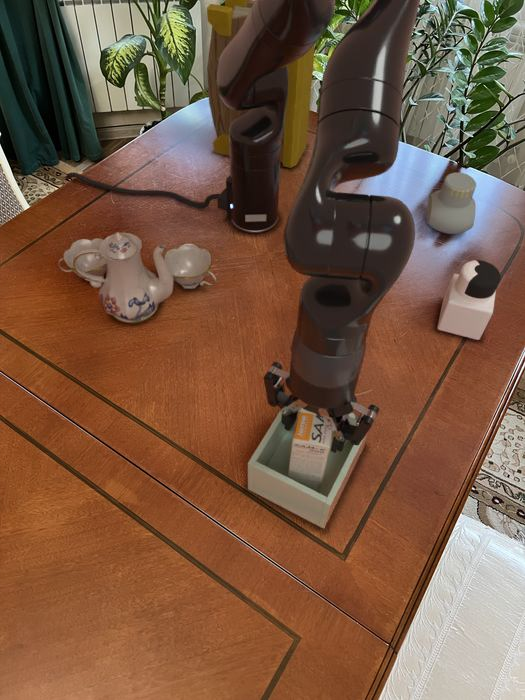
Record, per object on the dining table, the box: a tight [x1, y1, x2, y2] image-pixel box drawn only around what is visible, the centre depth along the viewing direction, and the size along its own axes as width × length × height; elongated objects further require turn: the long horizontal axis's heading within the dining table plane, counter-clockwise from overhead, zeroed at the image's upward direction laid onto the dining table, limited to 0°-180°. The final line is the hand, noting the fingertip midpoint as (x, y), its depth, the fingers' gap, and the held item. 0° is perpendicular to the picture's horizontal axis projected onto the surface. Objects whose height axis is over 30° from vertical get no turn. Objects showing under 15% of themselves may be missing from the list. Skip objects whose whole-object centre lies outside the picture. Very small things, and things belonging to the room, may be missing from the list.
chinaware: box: [57, 231, 218, 324], centre depth 96 cm, size 28×17×17 cm, turn 91°
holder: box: [247, 392, 371, 530], centre depth 78 cm, size 12×14×8 cm
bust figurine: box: [437, 259, 502, 341], centre depth 94 cm, size 7×7×12 cm
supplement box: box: [288, 408, 333, 493], centre depth 75 cm, size 8×5×13 cm, turn 168°
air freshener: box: [425, 172, 477, 235], centre depth 111 cm, size 11×8×10 cm
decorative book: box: [206, 0, 316, 169], centre depth 118 cm, size 20×11×30 cm, turn 69°
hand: (312, 435), depth 74 cm, fingers open, 6 cm apart
